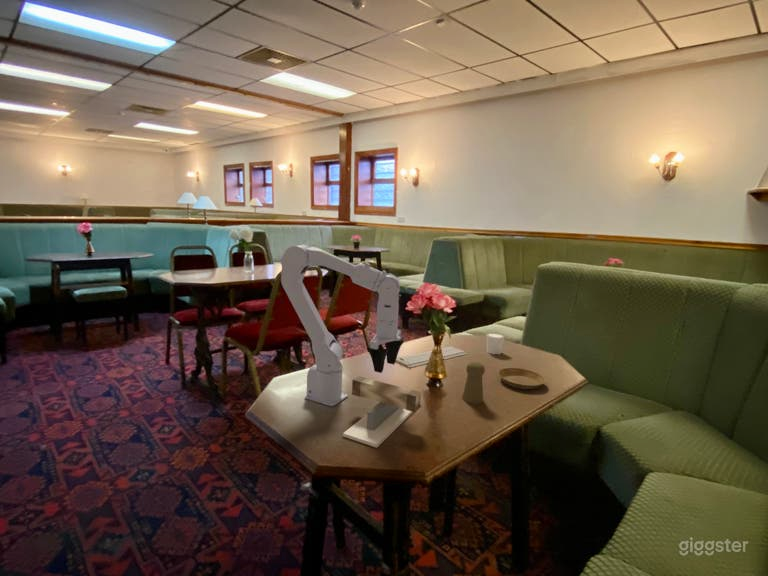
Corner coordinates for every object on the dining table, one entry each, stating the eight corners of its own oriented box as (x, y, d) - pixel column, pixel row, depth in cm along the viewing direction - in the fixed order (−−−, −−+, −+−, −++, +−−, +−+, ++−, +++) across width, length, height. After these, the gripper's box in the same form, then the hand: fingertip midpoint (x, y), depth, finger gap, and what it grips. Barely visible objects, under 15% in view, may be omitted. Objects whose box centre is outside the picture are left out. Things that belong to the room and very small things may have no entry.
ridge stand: (342, 436, 98) (343, 416, 97) (391, 396, 121) (392, 380, 120) (376, 447, 94) (377, 427, 93) (420, 404, 117) (421, 387, 116)
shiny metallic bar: (419, 407, 104) (421, 392, 104) (414, 412, 102) (416, 396, 101) (357, 390, 112) (358, 376, 112) (351, 394, 110) (352, 379, 109)
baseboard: (469, 356, 162) (450, 349, 170) (470, 349, 162) (451, 343, 170) (411, 371, 144) (393, 362, 152) (412, 363, 143) (393, 355, 151)
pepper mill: (486, 398, 123) (489, 363, 121) (478, 405, 118) (482, 369, 117) (467, 393, 127) (470, 358, 125) (458, 399, 122) (462, 363, 120)
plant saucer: (551, 384, 138) (552, 376, 138) (534, 397, 127) (535, 389, 127) (508, 371, 148) (509, 364, 147) (489, 382, 137) (490, 375, 136)
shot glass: (486, 354, 165) (488, 337, 163) (483, 349, 171) (485, 332, 170) (504, 355, 164) (506, 338, 163) (500, 350, 171) (502, 333, 170)
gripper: (388, 327, 105) (385, 379, 107) (411, 316, 117) (408, 362, 120) (364, 323, 108) (361, 373, 110) (389, 313, 121) (386, 358, 123)
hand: (384, 367), depth 115 cm, fingers open, 7 cm apart
